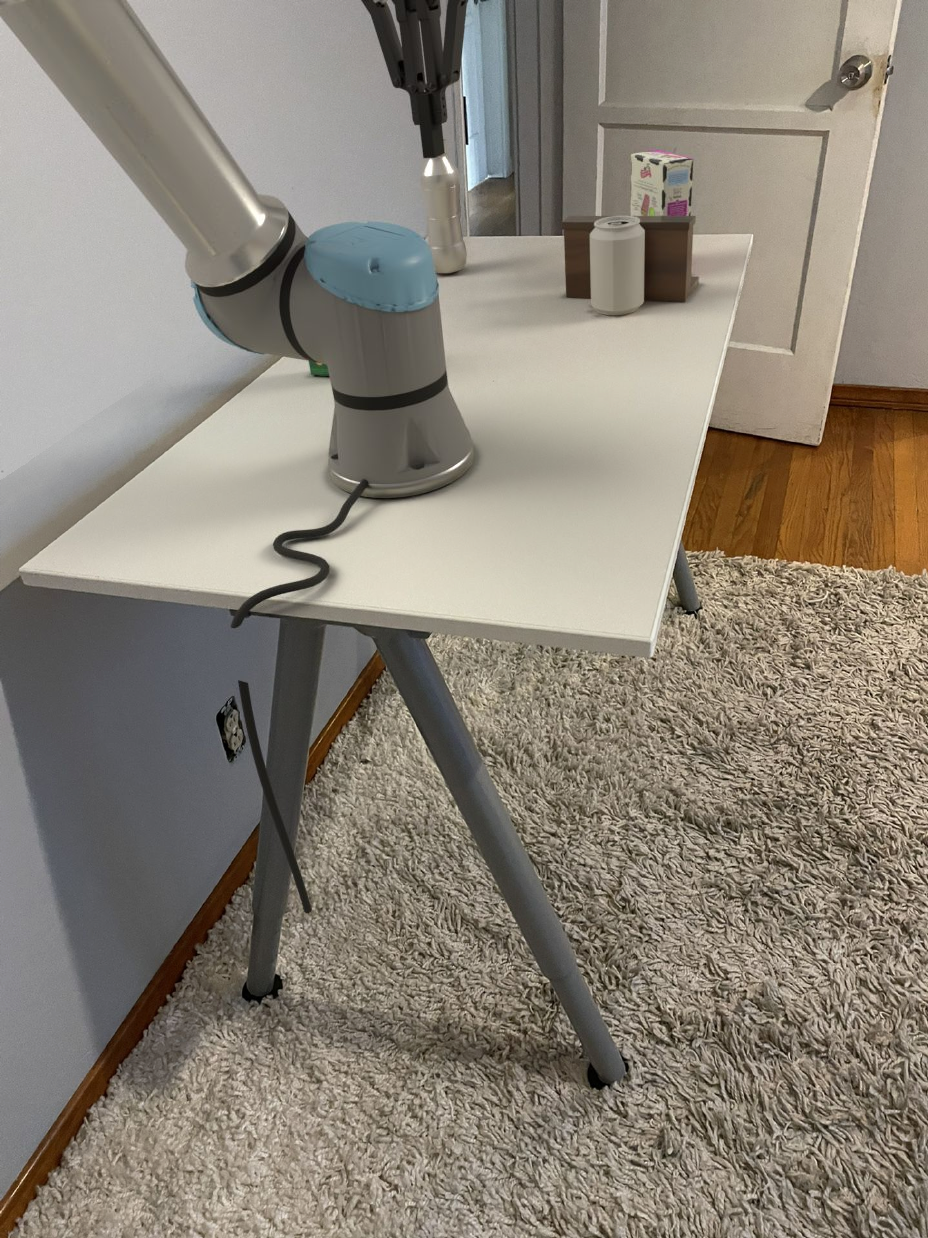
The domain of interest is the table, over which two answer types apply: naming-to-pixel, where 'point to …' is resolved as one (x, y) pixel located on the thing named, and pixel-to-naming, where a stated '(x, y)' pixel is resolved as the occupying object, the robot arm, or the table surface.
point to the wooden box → (661, 259)
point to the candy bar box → (661, 184)
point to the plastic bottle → (443, 212)
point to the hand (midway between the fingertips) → (434, 155)
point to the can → (617, 265)
